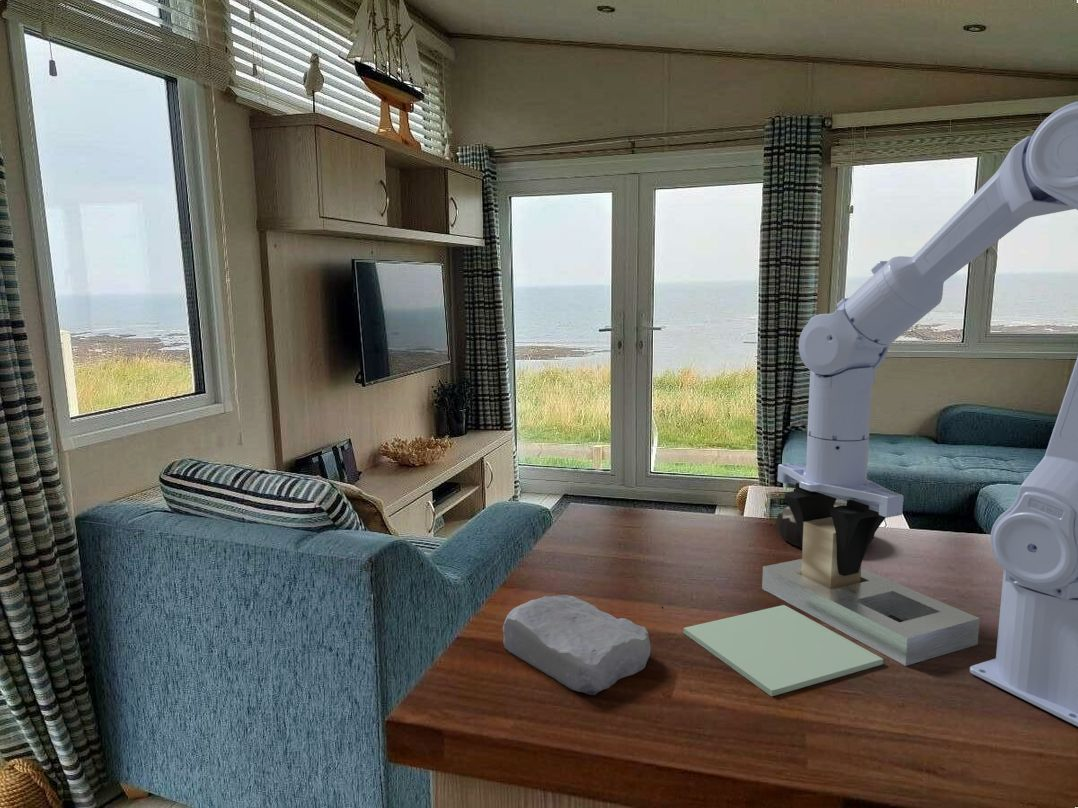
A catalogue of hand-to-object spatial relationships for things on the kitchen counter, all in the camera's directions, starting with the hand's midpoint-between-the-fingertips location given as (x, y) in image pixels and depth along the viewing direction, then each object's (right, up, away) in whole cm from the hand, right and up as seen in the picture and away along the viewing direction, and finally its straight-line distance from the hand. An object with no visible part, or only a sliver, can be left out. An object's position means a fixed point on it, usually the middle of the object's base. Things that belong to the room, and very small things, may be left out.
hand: (831, 565), depth 75 cm
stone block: (-26, -6, -10) cm, 29 cm away
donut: (+6, -1, +18) cm, 20 cm away
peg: (0, -4, +1) cm, 4 cm away
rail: (+2, -4, -3) cm, 5 cm away
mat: (-9, -5, -10) cm, 14 cm away
